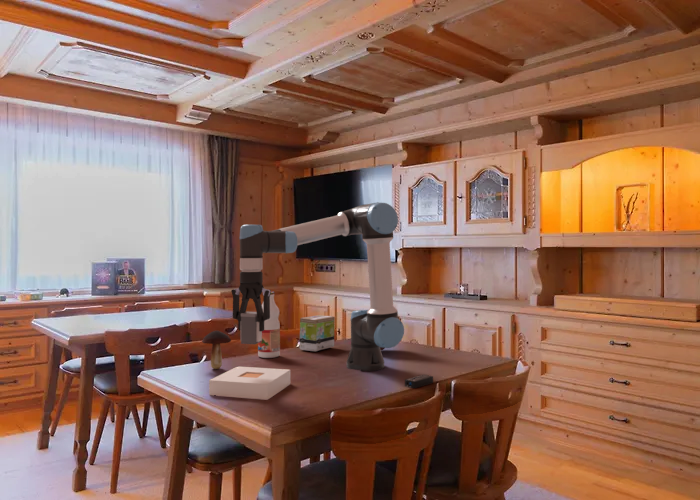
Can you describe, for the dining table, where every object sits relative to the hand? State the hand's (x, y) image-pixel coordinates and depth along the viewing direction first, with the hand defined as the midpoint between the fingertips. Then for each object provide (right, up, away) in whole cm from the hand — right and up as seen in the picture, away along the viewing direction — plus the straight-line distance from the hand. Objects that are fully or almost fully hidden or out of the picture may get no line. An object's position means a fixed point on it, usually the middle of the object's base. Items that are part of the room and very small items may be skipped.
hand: (251, 340), depth 177 cm
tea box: (+18, -16, +72) cm, 76 cm away
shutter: (0, -13, 0) cm, 13 cm away
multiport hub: (+57, -17, +8) cm, 60 cm away
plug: (0, -1, 0) cm, 1 cm away
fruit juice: (-2, -16, +54) cm, 57 cm away
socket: (0, -16, 0) cm, 16 cm away
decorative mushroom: (-19, -16, +30) cm, 39 cm away
